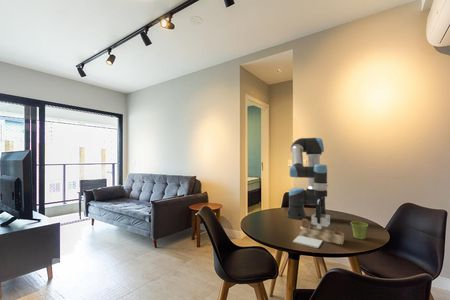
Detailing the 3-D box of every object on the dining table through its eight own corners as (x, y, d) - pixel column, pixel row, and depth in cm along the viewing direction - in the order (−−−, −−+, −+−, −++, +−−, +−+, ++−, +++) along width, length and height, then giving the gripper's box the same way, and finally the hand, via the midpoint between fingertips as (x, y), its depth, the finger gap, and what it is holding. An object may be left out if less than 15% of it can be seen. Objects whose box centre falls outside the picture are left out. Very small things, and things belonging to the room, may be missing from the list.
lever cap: (311, 224, 134) (311, 214, 134) (314, 220, 141) (314, 211, 141) (327, 226, 129) (327, 217, 129) (330, 223, 136) (329, 213, 136)
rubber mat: (292, 242, 129) (292, 241, 129) (298, 236, 138) (298, 235, 138) (318, 248, 120) (318, 247, 120) (322, 241, 129) (322, 240, 129)
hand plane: (299, 235, 139) (299, 219, 139) (302, 232, 144) (302, 217, 144) (342, 244, 125) (342, 227, 125) (343, 241, 130) (343, 224, 130)
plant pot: (347, 235, 140) (347, 221, 140) (361, 234, 141) (361, 221, 141) (357, 241, 130) (357, 226, 131) (372, 240, 131) (371, 225, 131)
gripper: (323, 193, 124) (323, 233, 124) (330, 187, 141) (330, 222, 141) (309, 191, 129) (309, 230, 129) (318, 186, 146) (318, 220, 146)
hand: (320, 226), depth 135 cm, fingers closed on lever cap, 8 cm apart
